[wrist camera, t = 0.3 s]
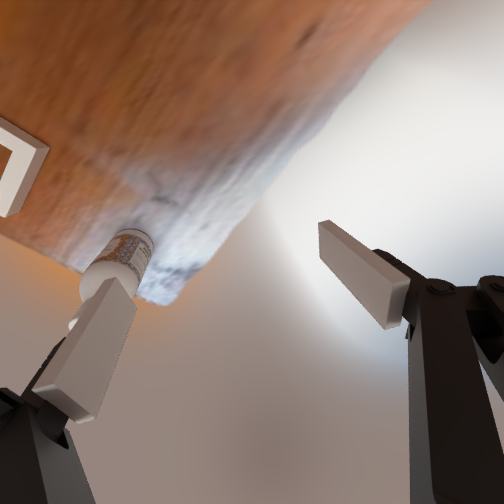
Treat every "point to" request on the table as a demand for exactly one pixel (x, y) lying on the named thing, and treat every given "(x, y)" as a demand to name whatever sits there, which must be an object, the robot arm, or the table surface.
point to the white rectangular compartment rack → (19, 166)
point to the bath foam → (116, 266)
